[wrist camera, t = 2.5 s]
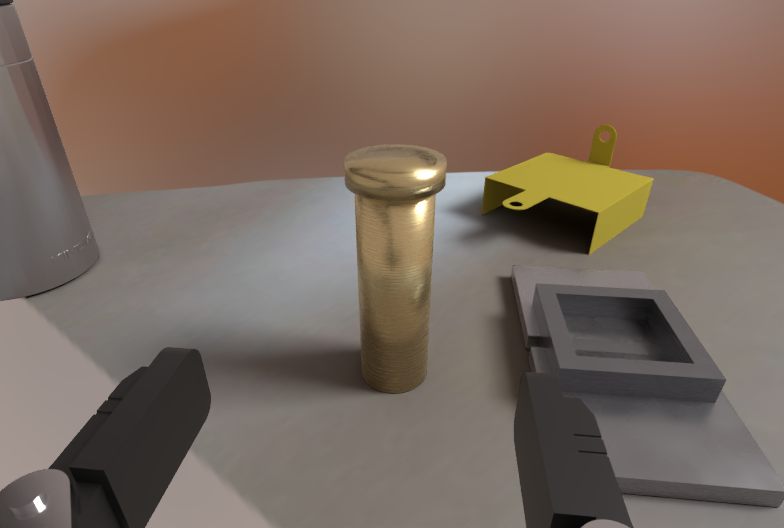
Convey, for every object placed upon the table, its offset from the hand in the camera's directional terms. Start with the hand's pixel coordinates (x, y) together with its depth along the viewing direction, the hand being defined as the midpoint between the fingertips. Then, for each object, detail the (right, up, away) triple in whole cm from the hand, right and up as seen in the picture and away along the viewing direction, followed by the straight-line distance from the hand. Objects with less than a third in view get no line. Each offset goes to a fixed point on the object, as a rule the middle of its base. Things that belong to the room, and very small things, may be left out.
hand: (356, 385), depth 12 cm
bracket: (+15, +6, +32) cm, 36 cm away
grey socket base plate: (+13, -2, +16) cm, 20 cm away
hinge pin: (+1, -3, +15) cm, 15 cm away
